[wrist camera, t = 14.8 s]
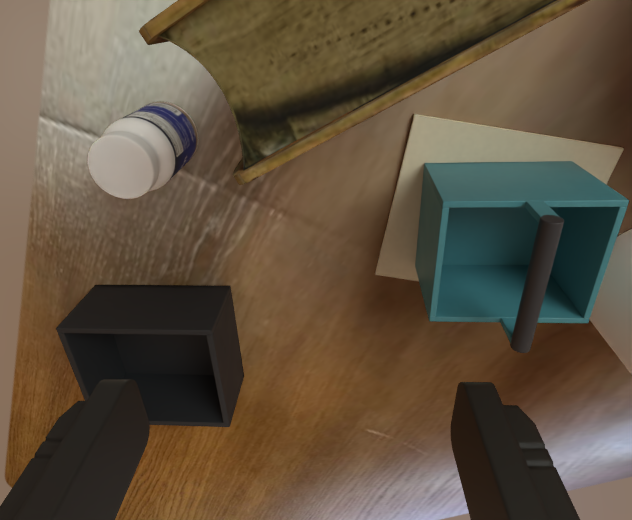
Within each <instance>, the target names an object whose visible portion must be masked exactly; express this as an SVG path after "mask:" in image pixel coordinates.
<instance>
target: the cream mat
mask: <svg viewBox="0 0 632 520" xmlns="http://www.w3.org/2000/svg"><path fill="white" fill-rule="evenodd" d="M623 150H624V148H622V147H617V146H611V145H605V144H599V143H592V142H586V141H580V140H574V139H568V138H561V137H555V136H549V135H543V134H537V133H530V132H524V131H518V130H512V129H506V128H499V127H493V126H487V125H481V124H474V123H468V122H462V121H456V120H450V119H443V118H437V117H431V116H425V115H419V114H414V116H413V120H412V124H411V128H410V132H409V136H408V140H407V145H406V149H405V153H404V157H403V161H402V165H401V169H400V173H399V177H398V181H397V185H396V189H395V193H394V197H393V202H392V206H391V210H390V214H389V218H388V222H387V226H386V230H385V234H384V238H383V242H382V246H381V250H380V254H379V259H378V263H377V267H376V271H375V275H381V276H387V277H393V278H400V279H406V280H413V281H419V279H418V276H417V272H416V268H415V261H416V250H417V239H418V228H419V216H420V205H421V194H422V183H423V172H424V163H463V162H541V161H573V162H574V163H576V164H577V165H579V166H580V167H581V168H583V169H584V170H586V171H587V172H589V173H590V174H592V175H593V176H595V177H596V178H597V179H599V180H600V181H602V182H603V183H605V184H607V182H608V180H609V178H610V176H611V174H612V172H613V170H614V168H615V166H616V164H617V162H618V160H619V158H620V156H621V154H622V152H623Z"/></svg>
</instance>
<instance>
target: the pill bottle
mask: <svg viewBox="0 0 632 520" xmlns="http://www.w3.org/2000/svg"><path fill="white" fill-rule="evenodd" d="M197 147H198V132H197V128H196V126H195V123H194V121H193V120H192V118H191V117H190V116H189V115H188V114H187V113H186V112H185V111H184V110H183V109H182V108H180V107H179V106H177V105H175V104H172V103H169V102H161V101H160V102H153V103H150V104H148V105H146V106H144V107H142V108H140V109H138V110H136V111H134V112H132V113H131V114H129V115H127V116H125V117H123V118H121V119H119V120H117V121H115V122H113V123H112V124H111V125H109V126H108V127H107V128H106V130H105V131H104V133H103V134H102V137H101V138H99V139H98V140H96V141H95V142H94V143H93V144H92V146H91V148H90V150H89V152H88V157H87V163H88V168H89V171H90V174H91V176H92V178H93V179H94V181H95V182H96V183H97V185H98V186H99V187H100V188H101V189H103V190H104V191H105V192H107V193H108V194H110V195H112V196H115V197H118V198H122V199H134V198H138V197H140V196H142V195H144V194H145V193H147V192H148V191H153V190H156V189H158V188H160V187H162V186H163V185H165V184H166V183H167V182H168V181H169V180H170V179H171V178H172V177H173V176H174V175H175V174H176V173H177V172H178V171H179V170H180V169H181V168H182V167H183V166H184V165H185V164H186V163H187V162H188V161H189V160H190V159H191V158H192V157H193V156H194V154H195V152H196V150H197Z"/></svg>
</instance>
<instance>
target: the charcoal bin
mask: <svg viewBox="0 0 632 520" xmlns="http://www.w3.org/2000/svg"><path fill="white" fill-rule="evenodd" d="M56 330H57V332H58V335H59V337H60V339H61V342H62V344H63V347H64V349H65V352H66V354H67V357H68V359H69V362H70V364H71V367H72V369H73V372H74V374H75V377H76V379H77V382H78V384H79V386H80V389H81V391H82V394H83V396H84V399H85V401H87V400H88V398H89V396H90V395H91V393H92V392H93V390H94V388H95V387H96V385H97V384H98V383H99V382H100V381H101V380H103V379H133V380H135V381H136V383H137V385H138V388H139V391H140V394H141V397H142V401H143V404H144V407H145V410H146V413H147V416H148V419H149V425H179V426H213V427H230V424H231V420H232V417H233V413H234V410H235V406H236V402H237V399H238V395H239V392H240V388H241V385H242V381H243V378H244V373H243V366H242V359H241V353H240V346H239V340H238V333H237V327H236V320H235V313H234V307H233V300H232V294H231V287H230V286H181V285H95V286H94V287H93V288H92V289H91V290H90V291H89V293H88V294H87V295H86V296H85V297H84V298H83V299H82V300H81V301H80V302H79V304H78V305H77V306H76V307H75V308H74V309H73V310H72V311H71V312H70V313H69V315H68V316H67V317H66V318H65V319H64V320H63V321H62V322H61V323H60V324H59V326H58V327H57V328H56Z"/></svg>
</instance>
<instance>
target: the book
mask: <svg viewBox="0 0 632 520" xmlns="http://www.w3.org/2000/svg"><path fill="white" fill-rule="evenodd" d="M587 1H589V0H178V1H176V2H175V3H174V4H172V5H171V6H170V7H168V8H167V9H165V10H164V11H163V12H161V13H160V14H158V15H157V16H155V17H154V18H153V19H151V20H150V21H149V22H147V23H146V24H145V25H144V26H143V27H142V28H141V29H140V30H139V32H140V34H141V35H142V37H143V38H144V40H145V42H146V43H147V44H148V45H151V44H157V43H162V42H168V41H170V42H172V43H174V44H176V45H177V46H179V47H181V48H182V49H184V50H185V51H187V52H188V53H189V54H191V55H192V56H193V57H194V58H195V59H197V60H198V61H199V62H200V63H201V64H202V65H203V66H204V67H205V68H206V69H207V71H208V72H209V73H210V74H211V76H212V77H213V78H214V80H215V81H216V82H217V84H218V85H219V87H220V89H221V90H222V92H223V94H224V96H225V98H226V100H227V102H228V104H229V106H230V108H231V111H232V114H233V116H234V119H235V122H236V125H237V129H238V132H239V137H240V142H241V147H242V156H243V158H242V159H241V161H240V162H239V164H238V165H237V167H236V168H235V171H234V173H233V176H234V178H235V179H236V181H237V182H238V184H239V185H243V184H246V183H248V182H250V181H252V180H254V179H256V178H258V177H260V176H261V175H263V174H265V173H267V172H269V171H271V170H273V169H275V168H276V167H278V166H280V165H282V164H284V163H286V162H288V161H290V160H291V159H293V158H295V157H297V156H299V155H301V154H303V153H304V152H306V151H308V150H310V149H312V148H314V147H316V146H318V145H319V144H321V143H323V142H325V141H327V140H329V139H331V138H333V137H334V136H336V135H338V134H340V133H342V132H344V131H346V130H348V129H349V128H351V127H353V126H355V125H357V124H359V123H361V122H363V121H364V120H366V119H368V118H370V117H372V116H374V115H376V114H378V113H379V112H381V111H383V110H385V109H387V108H389V107H391V106H393V105H394V104H396V103H398V102H400V101H402V100H404V99H406V98H408V97H409V96H411V95H413V94H415V93H417V92H419V91H421V90H423V89H424V88H426V87H428V86H430V85H432V84H434V83H436V82H438V81H439V80H441V79H443V78H445V77H447V76H449V75H451V74H453V73H454V72H456V71H458V70H460V69H462V68H464V67H466V66H468V65H469V64H471V63H473V62H475V61H477V60H479V59H481V58H483V57H484V56H486V55H488V54H490V53H492V52H494V51H496V50H498V49H499V48H501V47H503V46H505V45H507V44H509V43H511V42H513V41H514V40H516V39H518V38H520V37H522V36H524V35H526V34H528V33H529V32H531V31H533V30H535V29H537V28H539V27H541V26H543V25H544V24H546V23H548V22H550V21H552V20H554V19H556V18H558V17H559V16H561V15H563V14H565V13H567V12H569V11H571V10H573V9H574V8H576V7H578V6H580V5H582V4H584V3H586V2H587Z"/></svg>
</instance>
